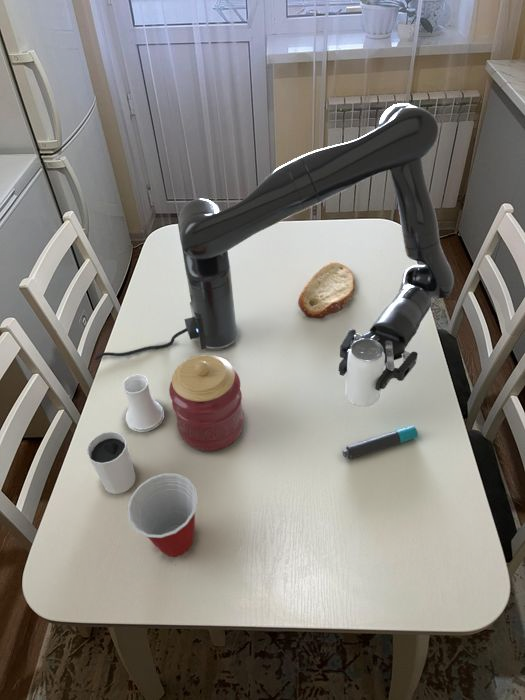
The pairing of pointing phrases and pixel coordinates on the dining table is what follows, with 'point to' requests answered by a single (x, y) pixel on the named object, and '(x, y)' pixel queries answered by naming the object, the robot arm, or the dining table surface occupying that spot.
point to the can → (364, 372)
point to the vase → (141, 405)
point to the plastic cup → (165, 512)
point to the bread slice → (327, 291)
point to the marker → (380, 442)
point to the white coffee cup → (112, 461)
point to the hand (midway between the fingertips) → (359, 379)
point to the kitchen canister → (207, 402)
